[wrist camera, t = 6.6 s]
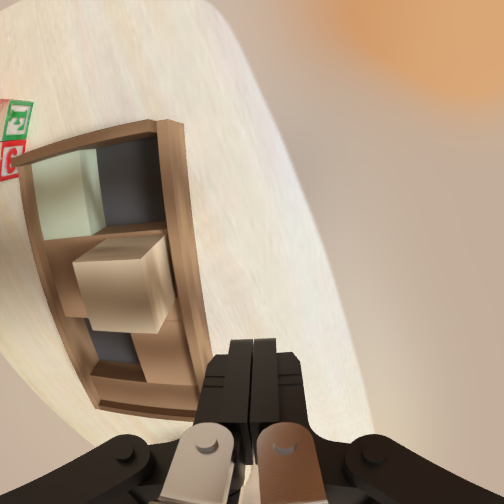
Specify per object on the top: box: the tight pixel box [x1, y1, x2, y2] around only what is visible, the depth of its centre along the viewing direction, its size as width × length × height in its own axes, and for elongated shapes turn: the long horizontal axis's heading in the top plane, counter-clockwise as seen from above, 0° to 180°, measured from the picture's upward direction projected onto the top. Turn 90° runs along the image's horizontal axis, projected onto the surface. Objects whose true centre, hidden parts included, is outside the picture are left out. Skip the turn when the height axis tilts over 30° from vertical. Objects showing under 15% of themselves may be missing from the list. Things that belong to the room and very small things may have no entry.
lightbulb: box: [241, 457, 261, 504], centre depth 21 cm, size 6×6×11 cm
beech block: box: [72, 234, 177, 334], centre depth 15 cm, size 4×4×4 cm
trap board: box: [11, 119, 213, 422], centre depth 18 cm, size 21×11×4 cm, turn 4°
